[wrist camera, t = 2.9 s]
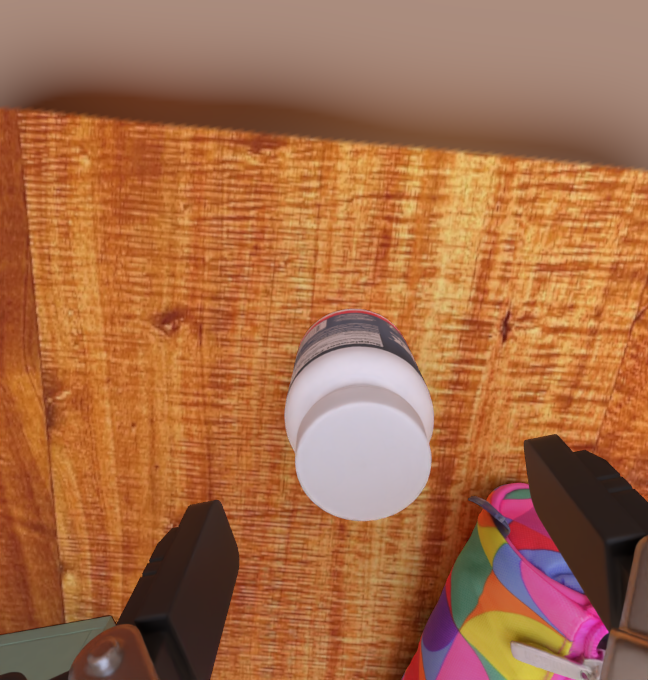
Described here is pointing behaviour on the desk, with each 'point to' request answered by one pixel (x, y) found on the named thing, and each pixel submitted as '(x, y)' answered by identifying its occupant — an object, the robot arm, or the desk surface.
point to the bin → (48, 648)
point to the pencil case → (510, 605)
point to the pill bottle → (359, 417)
